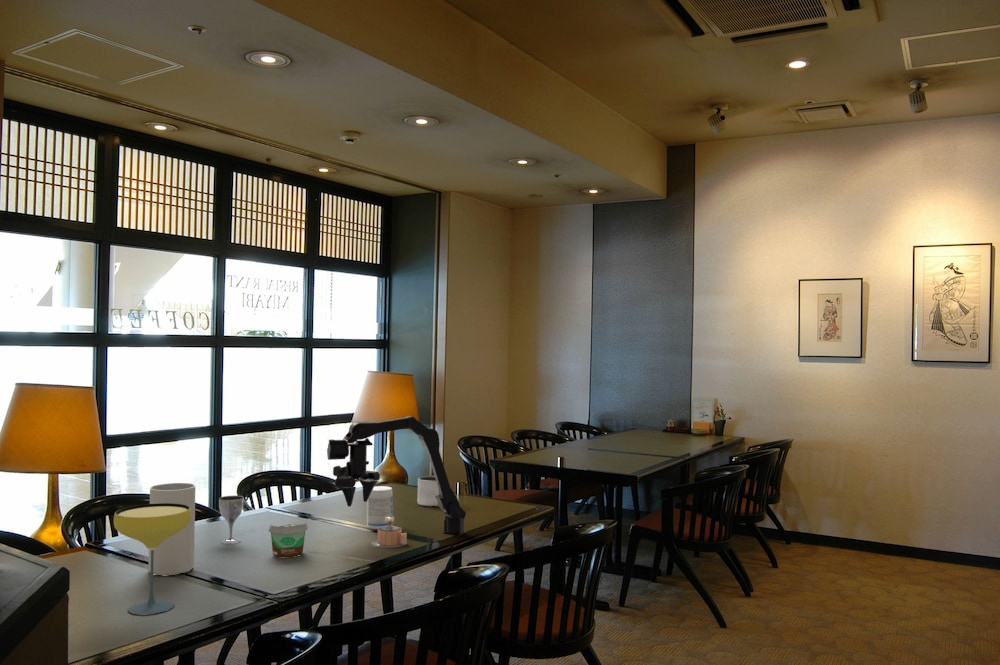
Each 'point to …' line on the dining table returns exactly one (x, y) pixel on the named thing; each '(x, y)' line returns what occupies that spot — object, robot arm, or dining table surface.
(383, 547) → the disc
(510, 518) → the dining table surface
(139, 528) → the cocktail glass
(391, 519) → the plunger
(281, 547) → the food container
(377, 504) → the supplement tub
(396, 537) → the orange slatted barrel
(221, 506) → the wine glass
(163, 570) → the cylinder vase
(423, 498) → the planter
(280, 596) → the dining table surface
